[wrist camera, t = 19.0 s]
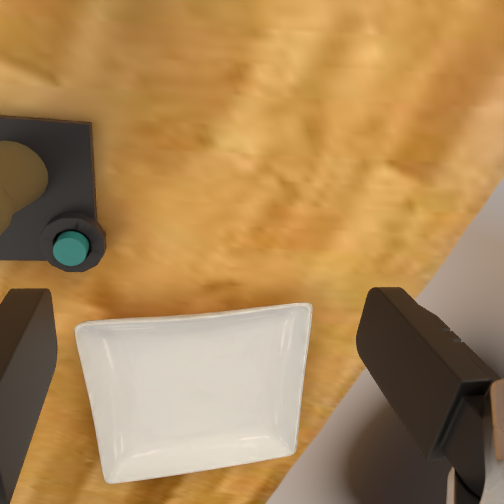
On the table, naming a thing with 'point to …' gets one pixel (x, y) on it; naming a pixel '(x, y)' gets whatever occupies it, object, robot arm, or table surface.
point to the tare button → (71, 248)
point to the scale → (55, 192)
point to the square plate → (195, 388)
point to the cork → (19, 179)
